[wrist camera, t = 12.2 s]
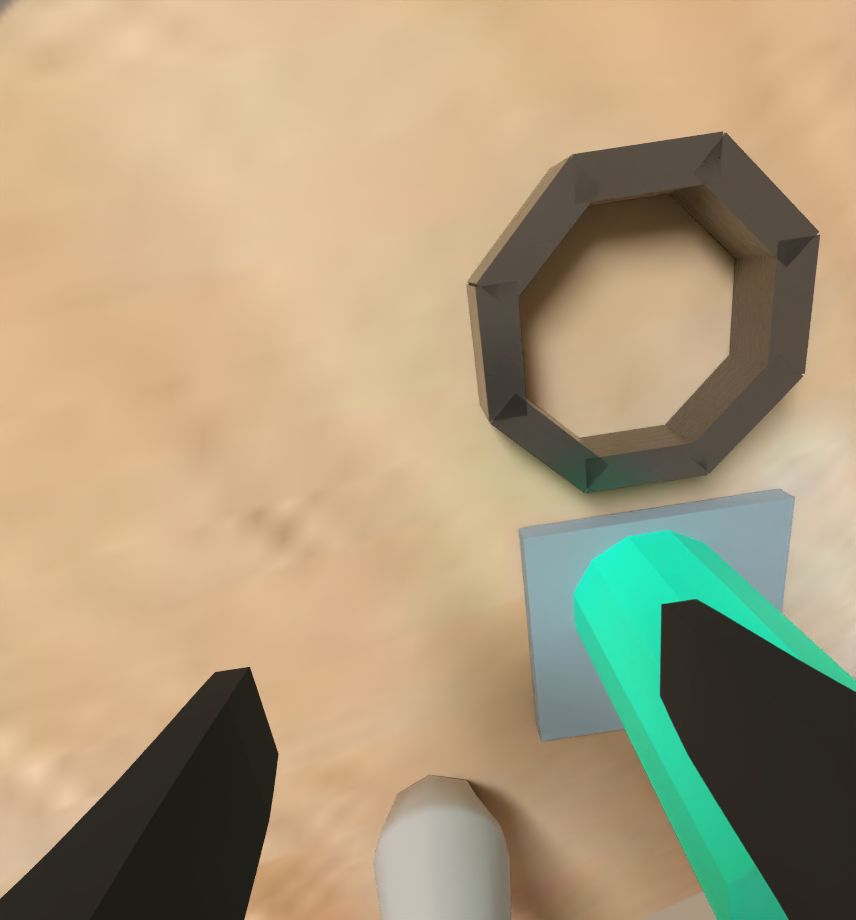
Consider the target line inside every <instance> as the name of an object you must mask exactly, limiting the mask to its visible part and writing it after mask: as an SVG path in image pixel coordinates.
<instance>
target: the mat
mask: <svg viewBox="0 0 856 920" xmlns="http://www.w3.org/2000/svg"><path fill="white" fill-rule="evenodd" d="M794 499H795V497H793V496H791V495H790V494H788V493H786V492H785V491H783V490H781V489H775V490H768V491H762V492H755V493H749V494H742V495H736V496H729V497H722V498H716V499H709V500H703V501H696V502H690V503H683V504H676V505H670V506H663V507H657V508H650V509H644V510H637V511H630V512H624V513H617V514H611V515H604V516H598V517H591V518H584V519H578V520H571V521H565V522H558V523H552V524H545V525H538V526H532V527H525V528H519V536H520V547H521V558H522V569H523V580H524V591H525V602H526V613H527V624H528V634H529V645H530V656H531V667H532V678H533V689H534V700H535V711H536V722H537V728H538V732H539V735H540V738H541V742H543V741H550V740H556V739H563V738H569V737H576V736H582V735H589V734H596V733H602V732H609V731H615V730H622V729H625V728H624V726H623V724H622V722H621V720H620V718H619V716H618V714H617V712H616V710H615V708H614V706H613V704H612V702H611V700H610V697H609V695H608V693H607V691H606V689H605V687H604V685H603V683H602V681H601V679H600V677H599V675H598V673H597V671H596V669H595V667H594V665H593V662H592V660H591V658H590V656H589V654H588V652H587V650H586V648H585V646H584V644H583V642H582V640H581V638H580V636H579V634H578V632H577V630H576V627H575V617H574V599H573V593H574V591H575V589H576V587H577V586H578V584H579V582H580V580H581V579H582V577H583V575H584V573H585V572H586V570H587V568H588V566H589V564H590V563H591V561H592V560H593V559H594V558H596V557H597V556H599V555H600V554H602V553H603V552H605V551H606V550H608V549H609V548H611V547H612V546H614V545H615V544H617V543H618V542H620V541H621V540H623V539H624V538H626V537H627V536H633V535H639V534H646V533H652V532H659V531H665V530H671V531H674V532H676V533H679V534H682V535H685V536H687V537H690V538H693V539H696V540H698V541H701V542H704V543H705V544H706V545H708V546H709V547H710V548H711V549H712V550H713V551H714V552H715V553H716V554H717V555H718V556H720V557H721V558H722V559H723V560H724V561H725V562H726V563H727V564H728V565H729V566H731V567H732V568H733V569H734V570H735V571H736V572H737V573H738V574H739V575H740V576H741V577H743V578H744V579H745V580H746V581H747V582H748V583H749V584H750V585H751V586H752V587H754V588H755V589H756V590H757V591H758V592H759V593H760V594H761V595H762V596H763V597H764V598H766V599H767V600H768V601H769V602H770V603H771V604H772V605H773V606H774V607H775V608H777V609H778V610H779V611H780V612H781V613H782V606H783V597H784V588H785V579H786V570H787V561H788V552H789V544H790V535H791V526H792V517H793V508H794Z"/></svg>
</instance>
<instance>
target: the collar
mask: <svg viewBox="0 0 856 920" xmlns="http://www.w3.org/2000/svg"><path fill="white" fill-rule="evenodd" d="M662 194H670V195H671V196H672V197H673V198H674V199H675V200H676V201H677V202H678V203H679V204H680V205H681V206H682V207H683V208H684V209H685V210H686V211H687V212H688V213H690V214H691V215H692V216H693V217H694V218H695V219H696V220H697V221H698V222H699V223H700V224H701V225H702V226H703V227H704V228H705V229H706V230H707V231H708V232H709V233H710V234H711V235H712V236H713V237H714V238H715V239H716V240H717V241H718V242H719V243H720V244H721V245H722V246H723V247H724V248H725V249H726V250H727V251H728V252H729V253H730V254H731V255H732V256H733V257H734V258H735V271H734V288H733V305H732V322H731V339H730V355H729V356H728V357H727V358H726V359H725V360H724V361H723V362H722V363H721V364H720V366H719V367H718V368H717V369H716V370H715V371H714V372H713V373H712V374H711V375H710V376H709V378H708V379H707V380H706V381H705V382H704V383H703V384H702V385H701V386H700V387H699V389H698V390H697V391H696V392H695V393H694V394H693V395H692V396H691V397H690V398H689V399H688V401H687V402H686V403H685V404H684V405H683V406H682V407H681V408H680V409H679V410H678V411H677V413H676V414H675V415H674V416H673V417H672V418H671V419H670V420H669V421H668V422H667V424H666V425H662V426H655V427H648V428H642V429H635V430H629V431H622V432H616V433H609V434H602V435H596V436H589V437H583V438H578V437H577V436H576V435H575V434H573V433H572V432H571V431H569V430H568V429H567V428H565V427H564V426H563V425H562V424H560V423H559V422H558V421H556V420H555V419H554V418H552V417H551V416H550V415H549V414H547V413H546V412H545V411H543V410H542V409H541V408H539V407H538V406H537V405H535V404H534V403H533V402H532V401H530V400H529V399H528V398H526V390H525V377H524V364H523V351H522V339H521V326H520V313H519V300H518V297H519V295H520V294H521V293H522V292H523V290H524V289H525V288H526V286H527V285H528V284H529V282H530V281H531V280H532V278H533V277H534V276H535V275H536V273H537V272H538V271H539V269H540V268H541V267H542V265H543V264H544V263H545V262H546V260H547V259H548V258H549V256H550V255H551V254H552V252H553V251H554V250H555V248H556V247H557V246H558V245H559V243H560V242H561V241H562V239H563V238H564V237H565V235H566V234H567V233H568V232H569V230H570V229H571V228H572V226H573V225H574V224H575V222H576V221H577V220H578V218H579V217H580V216H581V215H582V213H583V212H584V211H585V209H586V208H587V207H588V206H590V205H597V204H603V203H610V202H616V201H623V200H630V199H636V198H643V197H649V196H656V195H662ZM818 232H819V231H818V230H817V229H816V228H815V227H814V226H813V225H812V224H811V223H810V221H809V220H808V219H807V218H806V217H805V216H804V215H803V214H802V213H801V212H800V211H799V210H798V209H797V208H796V207H795V205H794V204H793V203H792V202H791V201H790V200H789V199H788V198H787V197H786V196H785V195H784V194H783V193H782V192H781V191H780V190H779V188H778V187H777V186H776V185H775V184H774V183H773V182H772V181H771V180H770V179H769V178H768V177H767V176H766V175H765V174H764V172H763V171H762V170H761V169H760V168H759V167H758V166H757V165H756V164H755V163H754V162H753V161H752V160H751V159H750V158H749V157H748V155H747V154H746V153H745V152H744V151H743V150H742V149H741V148H740V147H739V146H738V145H737V144H736V143H735V142H734V141H733V139H732V138H731V137H730V136H729V135H728V134H727V133H724V134H723V132H717V133H710V134H704V135H697V136H690V137H684V138H677V139H671V140H664V141H657V142H651V143H644V144H638V145H631V146H625V147H618V148H611V149H605V150H598V151H592V152H585V153H578V154H573V155H571V156H570V157H568V158H567V159H565V160H563V161H562V162H560V163H558V164H557V165H555V166H554V167H552V168H551V169H549V171H548V172H547V173H546V175H545V176H544V178H543V179H542V180H541V182H540V183H539V184H538V186H537V187H536V189H535V190H534V191H533V193H532V194H531V195H530V197H529V198H528V199H527V201H526V202H525V204H524V205H523V206H522V208H521V209H520V210H519V212H518V213H517V214H516V216H515V217H514V219H513V220H512V221H511V223H510V224H509V225H508V227H507V228H506V230H505V231H504V232H503V234H502V235H501V236H500V238H499V239H498V240H497V242H496V243H495V245H494V246H493V247H492V249H491V250H490V251H489V253H488V254H487V255H486V257H485V258H484V260H483V261H482V262H481V264H480V265H479V266H478V268H477V269H476V270H475V272H474V273H473V275H472V276H471V277H470V279H469V280H468V281H467V282H469V283H470V284H467V293H468V302H469V311H470V320H471V329H472V338H473V347H474V356H475V365H476V374H477V383H478V392H479V401H480V406H481V408H482V410H483V411H484V413H485V415H486V417H487V418H488V420H489V422H490V423H491V424H492V425H493V426H494V427H496V428H497V429H498V430H500V431H501V432H503V433H504V434H505V435H507V436H508V437H509V438H511V439H512V440H513V441H515V442H516V443H518V444H519V445H520V446H522V447H523V448H524V449H526V450H527V451H528V452H530V453H531V454H533V455H534V456H535V457H537V458H538V459H539V460H541V461H542V462H543V463H545V464H546V465H547V466H549V467H550V468H552V469H553V470H554V471H556V472H557V473H558V474H560V475H561V476H562V477H564V478H565V479H567V480H568V481H569V482H571V483H572V484H573V485H575V486H576V487H577V488H579V489H580V490H581V491H583V492H586V493H590V492H596V491H603V490H610V489H616V488H623V487H629V486H636V485H642V484H649V483H656V482H662V481H669V480H675V479H682V478H688V477H695V476H702V475H707V472H708V473H710V472H711V471H712V470H713V469H714V468H715V467H716V466H717V465H718V464H719V463H720V462H721V461H722V460H723V459H724V458H725V457H726V456H727V454H728V453H729V452H730V451H731V450H732V449H733V448H734V447H735V446H736V445H737V444H738V443H739V442H740V441H741V440H742V439H743V438H744V437H745V436H746V435H747V434H748V433H749V432H750V431H751V430H752V429H753V428H754V427H755V426H756V425H757V424H758V422H759V421H760V420H761V419H762V418H763V417H764V416H765V415H766V414H767V413H768V412H769V411H770V410H771V409H772V408H773V407H774V406H775V405H776V404H777V403H778V402H779V401H780V400H781V399H782V398H783V397H784V396H785V395H786V394H787V393H788V391H789V390H790V389H791V388H792V387H793V386H794V385H795V384H796V383H797V382H798V381H799V380H800V379H801V378H802V377H803V375H801V374H804V373H805V366H806V357H807V348H808V339H809V330H810V321H811V312H812V303H813V294H814V285H815V276H816V266H817V257H818V248H819V239H820V235H817V233H818Z"/></svg>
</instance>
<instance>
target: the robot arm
mask: <svg viewBox="0 0 856 920" xmlns="http://www.w3.org/2000/svg"><path fill="white" fill-rule="evenodd" d="M660 697H661V699H662V702H663V704H664V706H665V708H666V710H667V712H668V715H669V717H670V719H671V721H672V723H673V726H674V728H675V730H676V732H677V734H678V736H679V738H680V740H681V742H682V744H683V746H684V748H685V750H686V752H687V754H688V756H689V758H690V759H691V761H692V763H693V764H694V766H695V768H696V769H697V771H698V773H699V774H700V776H701V778H702V779H703V781H704V783H705V784H706V786H707V787H708V789H709V791H710V792H711V794H712V796H713V797H714V799H715V801H716V802H717V804H718V805H719V807H720V809H721V810H722V812H723V813H724V815H725V817H726V818H727V820H728V822H729V823H730V825H731V826H732V828H733V830H734V831H735V833H736V834H737V836H738V838H739V839H740V841H741V842H742V844H743V846H744V847H745V849H746V851H747V852H748V854H749V855H750V857H751V859H752V860H753V862H754V863H755V865H756V867H757V868H758V870H759V871H760V873H761V875H762V876H763V878H764V880H765V881H766V883H767V884H768V886H769V888H770V889H771V891H772V892H773V894H774V896H775V897H776V899H777V901H778V902H779V904H780V906H781V907H782V909H783V911H784V912H785V914H786V916H787V918H788V919H789V920H856V692H855V691H853V690H852V689H850V688H848V687H846V686H844V685H843V684H841V683H839V682H837V681H835V680H834V679H832V678H830V677H828V676H827V675H825V674H823V673H821V672H820V671H818V670H816V669H814V668H813V667H811V666H809V665H807V664H806V663H804V662H802V661H801V660H799V659H797V658H795V657H794V656H792V655H790V654H789V653H787V652H785V651H784V650H782V649H780V648H779V647H777V646H775V645H774V644H772V643H770V642H769V641H767V640H765V639H764V638H762V637H760V636H759V635H757V634H755V633H754V632H752V631H750V630H749V629H747V628H745V627H744V626H742V625H740V624H739V623H737V622H735V621H734V620H732V619H730V618H729V617H727V616H725V615H724V614H722V613H720V612H718V611H717V610H715V609H713V608H712V607H710V606H708V605H706V604H705V603H703V602H701V601H699V600H697V599H692V600H686V601H679V602H673V603H666V604H661V655H660ZM277 761H278V751H277V748H276V745H275V742H274V739H273V736H272V733H271V730H270V727H269V724H268V721H267V718H266V715H265V712H264V709H263V705H262V702H261V699H260V696H259V693H258V690H257V687H256V684H255V681H254V678H253V675H252V672H251V669H250V667H246V668H239V669H233V670H226V671H220V672H215V673H214V674H213V675H212V676H211V677H210V678H209V679H208V680H207V681H206V682H205V684H204V685H203V686H202V687H201V688H200V689H199V690H198V691H197V692H196V694H195V695H194V696H193V697H192V698H191V699H190V700H189V701H188V703H187V704H186V705H185V706H184V707H183V708H182V709H181V710H180V712H179V713H178V714H177V715H176V716H175V717H174V718H173V720H172V721H171V722H170V723H169V724H168V725H167V726H166V727H165V729H164V730H163V731H162V732H161V733H160V734H159V735H158V737H157V738H156V739H155V740H154V741H153V742H152V743H151V744H150V745H149V746H148V748H147V749H146V750H145V751H144V752H143V753H142V754H141V755H140V756H139V758H138V759H137V760H136V761H135V762H134V763H133V764H132V765H131V766H130V768H129V769H128V770H127V771H126V772H125V773H124V774H123V775H122V776H121V778H120V779H119V780H118V781H117V782H116V783H115V784H114V785H113V786H112V787H111V788H110V789H109V790H108V791H107V792H106V793H105V794H104V795H103V797H102V798H101V799H100V800H99V801H98V802H97V803H96V804H95V805H94V806H93V807H92V808H91V809H90V810H89V811H88V812H87V813H86V814H85V815H84V816H83V817H82V818H81V819H80V820H79V821H78V822H77V823H76V824H75V826H74V827H73V828H72V829H71V830H70V831H69V832H68V833H67V834H66V835H65V836H64V837H63V838H62V839H61V840H60V841H59V842H58V843H57V844H56V845H55V846H54V847H53V848H52V849H51V850H50V851H49V852H48V853H47V854H46V855H45V856H44V857H43V858H42V859H41V860H40V861H39V862H38V863H37V864H36V865H35V866H34V867H33V868H32V869H31V870H30V871H29V872H28V873H27V874H26V875H25V876H24V877H23V878H22V879H21V880H20V881H19V882H17V883H16V884H15V885H14V886H13V887H12V888H11V889H10V890H9V891H8V892H7V893H6V894H5V895H4V896H3V897H2V898H1V899H0V920H244V919H245V915H246V911H247V907H248V903H249V899H250V895H251V891H252V887H253V883H254V879H255V875H256V871H257V867H258V863H259V859H260V855H261V851H262V847H263V843H264V839H265V835H266V831H267V827H268V823H269V818H270V812H271V805H272V799H273V792H274V785H275V777H276V769H277Z"/></svg>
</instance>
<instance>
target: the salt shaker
mask: <svg viewBox="0 0 856 920" xmlns="http://www.w3.org/2000/svg"><path fill="white" fill-rule="evenodd" d="M373 865H374V873H375V880H376V887H377V894H378V902H379V909H380V916H381V920H511V882H510V856H509V852H508V848H507V844H506V840H505V837H504V834H503V831H502V828H501V826H500V825H499V823H498V822H497V821H496V819H495V818H494V817H493V816H492V814H491V813H490V812H489V811H488V809H487V808H486V807H485V806H484V804H483V803H482V802H481V801H480V799H479V798H478V797H477V795H476V794H475V793H474V791H473V790H472V788H471V786H470V785H469V783H468V781H467V780H462V779H454V778H447V777H440V776H433V775H428V776H426V777H425V778H423V779H421V780H420V781H418V782H416V783H415V784H413V785H411V786H410V787H408V788H407V789H405V790H403V791H402V792H400V793H398V794H397V797H396V799H395V801H394V803H393V806H392V808H391V810H390V813H389V815H388V817H387V819H386V822H385V824H384V826H383V828H382V831H381V834H380V838H379V841H378V844H377V848H376V851H375V857H374V862H373Z"/></svg>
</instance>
